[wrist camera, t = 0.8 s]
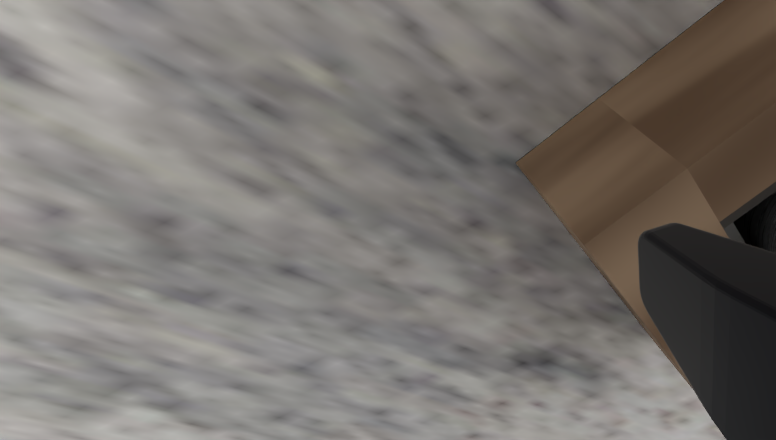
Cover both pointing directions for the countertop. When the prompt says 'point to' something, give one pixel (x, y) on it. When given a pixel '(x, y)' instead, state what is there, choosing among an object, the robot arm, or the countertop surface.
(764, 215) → the steel peg
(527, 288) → the countertop surface
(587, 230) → the walnut block
